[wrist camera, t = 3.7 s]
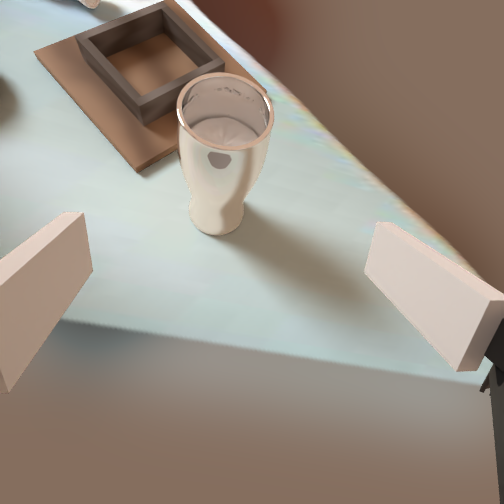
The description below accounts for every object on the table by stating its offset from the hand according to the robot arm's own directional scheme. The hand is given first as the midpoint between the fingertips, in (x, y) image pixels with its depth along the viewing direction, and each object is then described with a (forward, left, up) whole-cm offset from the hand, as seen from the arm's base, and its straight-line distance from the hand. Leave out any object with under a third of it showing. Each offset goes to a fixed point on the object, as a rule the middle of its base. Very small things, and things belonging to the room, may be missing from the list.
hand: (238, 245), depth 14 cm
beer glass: (+7, +9, -18) cm, 21 cm away
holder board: (+13, +28, -18) cm, 35 cm away
